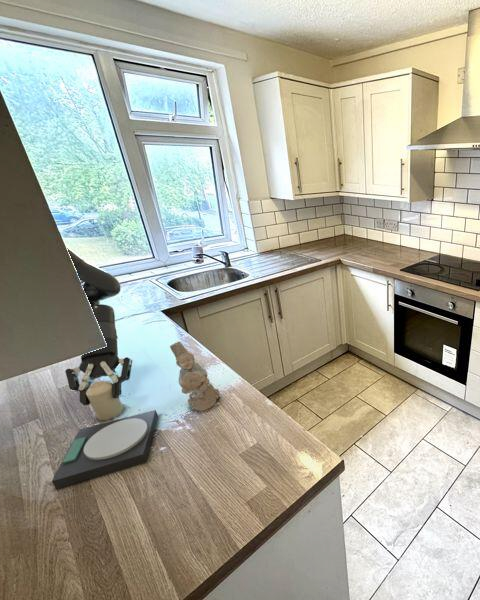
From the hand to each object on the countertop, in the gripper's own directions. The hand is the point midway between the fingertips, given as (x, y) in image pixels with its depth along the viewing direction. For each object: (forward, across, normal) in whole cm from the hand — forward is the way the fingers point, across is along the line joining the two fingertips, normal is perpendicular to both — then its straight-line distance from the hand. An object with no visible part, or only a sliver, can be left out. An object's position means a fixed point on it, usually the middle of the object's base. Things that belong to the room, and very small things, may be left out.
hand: (101, 400), depth 87 cm
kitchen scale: (+13, +4, -5) cm, 15 cm away
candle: (+3, 0, +5) cm, 6 cm away
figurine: (+7, +23, +1) cm, 24 cm away
